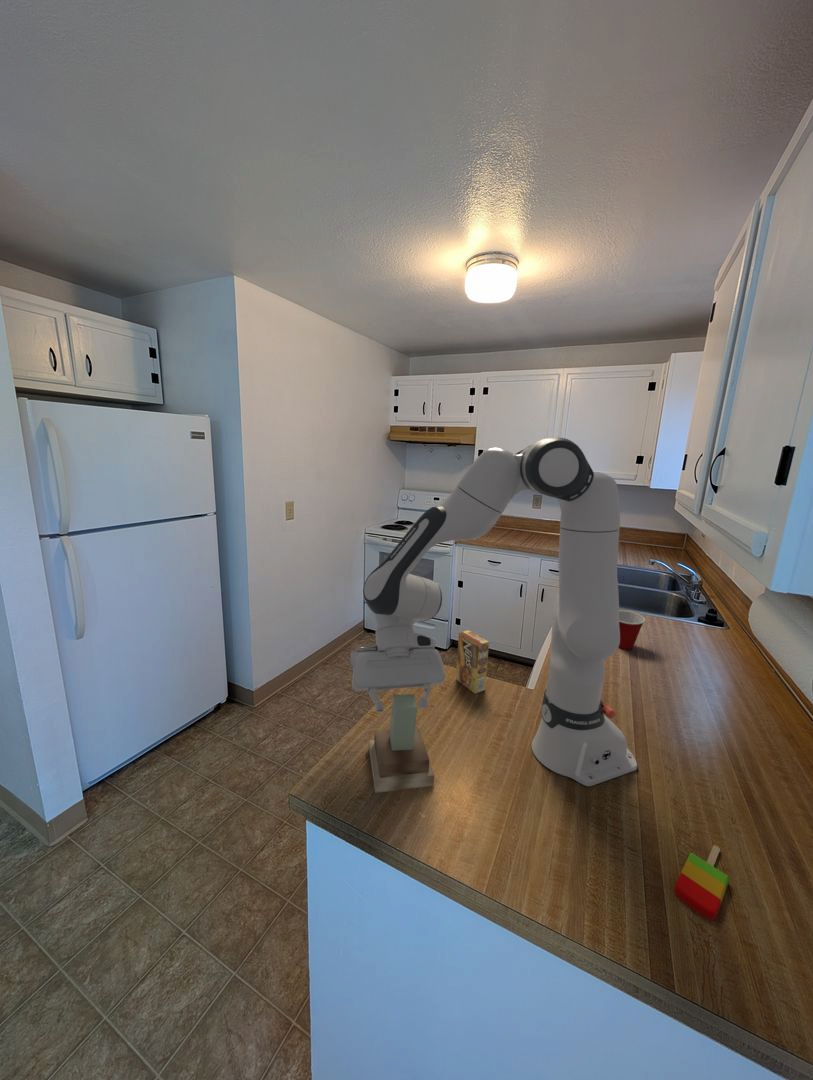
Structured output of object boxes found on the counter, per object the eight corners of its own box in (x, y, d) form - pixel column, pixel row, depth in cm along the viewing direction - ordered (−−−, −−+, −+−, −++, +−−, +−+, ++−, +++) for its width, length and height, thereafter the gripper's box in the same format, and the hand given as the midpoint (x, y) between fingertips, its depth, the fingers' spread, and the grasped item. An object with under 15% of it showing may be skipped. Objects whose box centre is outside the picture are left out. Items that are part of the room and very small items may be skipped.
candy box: (485, 690, 117) (490, 641, 114) (474, 694, 115) (479, 644, 112) (465, 675, 124) (469, 629, 121) (454, 679, 122) (458, 632, 119)
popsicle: (671, 895, 64) (673, 886, 64) (697, 839, 74) (699, 831, 74) (713, 926, 60) (716, 916, 60) (735, 862, 70) (737, 854, 70)
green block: (409, 735, 90) (413, 694, 88) (413, 749, 85) (417, 707, 83) (389, 735, 89) (392, 694, 87) (391, 750, 84) (395, 707, 82)
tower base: (420, 746, 95) (420, 735, 94) (433, 787, 83) (434, 775, 83) (368, 752, 92) (369, 740, 92) (375, 795, 81) (375, 782, 80)
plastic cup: (600, 643, 150) (605, 613, 148) (617, 637, 156) (622, 608, 153) (629, 656, 141) (635, 624, 139) (646, 649, 147) (651, 618, 145)
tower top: (417, 738, 93) (418, 727, 92) (428, 772, 83) (429, 759, 83) (374, 743, 91) (374, 731, 90) (380, 777, 81) (380, 765, 81)
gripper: (350, 642, 88) (352, 711, 81) (441, 638, 92) (451, 702, 85) (349, 651, 93) (351, 716, 86) (435, 647, 97) (444, 708, 90)
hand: (401, 709), depth 85 cm, fingers open, 8 cm apart
